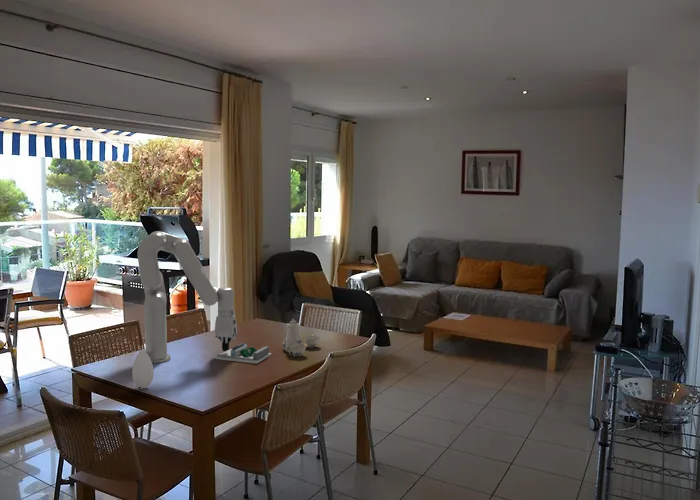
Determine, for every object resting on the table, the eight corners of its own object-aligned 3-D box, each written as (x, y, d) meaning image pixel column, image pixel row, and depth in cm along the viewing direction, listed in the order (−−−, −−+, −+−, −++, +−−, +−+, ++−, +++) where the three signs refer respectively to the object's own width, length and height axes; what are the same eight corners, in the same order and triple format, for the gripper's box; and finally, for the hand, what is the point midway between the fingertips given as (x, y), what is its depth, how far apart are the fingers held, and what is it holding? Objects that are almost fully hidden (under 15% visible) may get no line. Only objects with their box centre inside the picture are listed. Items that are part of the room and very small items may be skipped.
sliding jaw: (235, 357, 264) (235, 348, 264) (230, 356, 265) (230, 347, 264) (247, 350, 276) (247, 342, 275) (243, 350, 276) (243, 341, 276)
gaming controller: (257, 358, 271) (251, 348, 273) (261, 353, 269) (255, 343, 271) (243, 362, 263) (237, 352, 266) (246, 357, 262) (240, 347, 264)
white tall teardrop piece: (129, 388, 224) (128, 344, 222) (147, 383, 230) (146, 340, 228) (138, 393, 219) (137, 347, 217) (157, 388, 224) (156, 344, 223)
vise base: (256, 363, 259) (256, 354, 259) (215, 358, 266) (215, 349, 265) (271, 355, 273) (271, 346, 273) (231, 350, 280) (231, 342, 280)
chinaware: (304, 362, 267) (308, 329, 265) (272, 356, 271) (275, 323, 269) (321, 347, 294) (324, 317, 292) (291, 342, 298) (294, 311, 296)
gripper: (243, 313, 272) (243, 350, 273) (216, 310, 276) (216, 347, 278) (235, 316, 265) (235, 354, 266) (207, 313, 269) (207, 350, 271)
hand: (225, 350), depth 272 cm, fingers closed
